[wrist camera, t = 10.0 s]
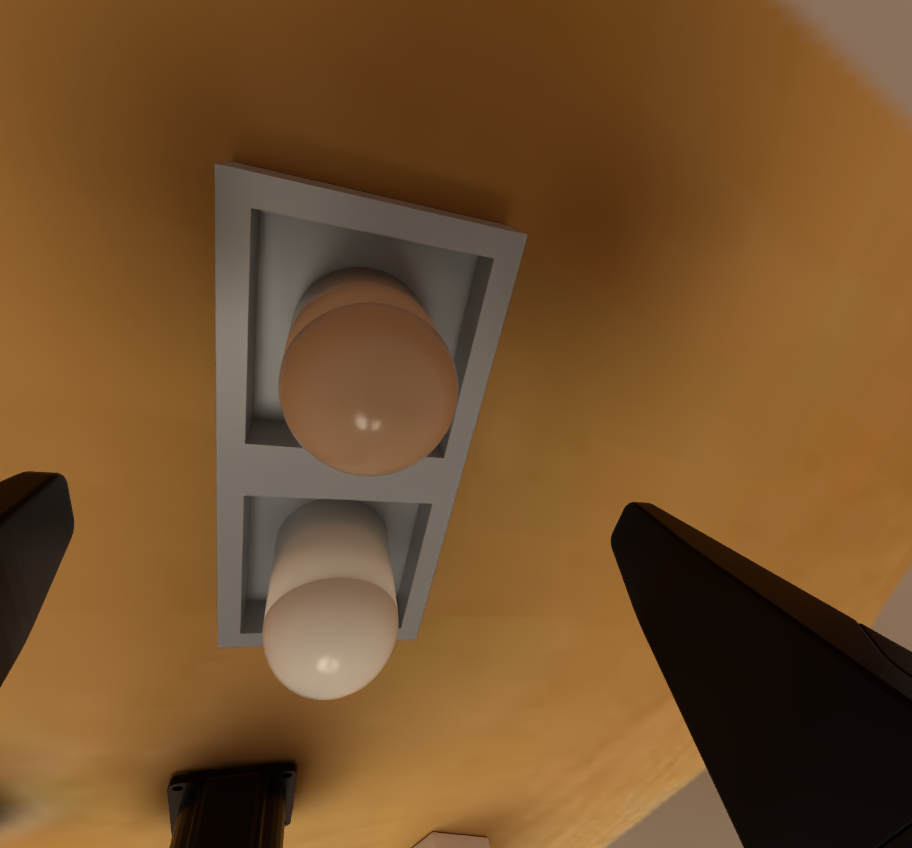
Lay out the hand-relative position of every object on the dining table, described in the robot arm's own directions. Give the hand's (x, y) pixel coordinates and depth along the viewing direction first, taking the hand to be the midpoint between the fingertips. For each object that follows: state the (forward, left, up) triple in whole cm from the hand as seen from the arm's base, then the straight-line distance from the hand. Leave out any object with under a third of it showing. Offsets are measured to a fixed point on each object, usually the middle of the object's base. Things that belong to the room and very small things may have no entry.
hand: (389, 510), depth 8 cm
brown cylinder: (0, 0, -9) cm, 9 cm away
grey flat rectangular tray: (-5, 0, -9) cm, 10 cm away
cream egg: (-9, 0, -9) cm, 13 cm away
